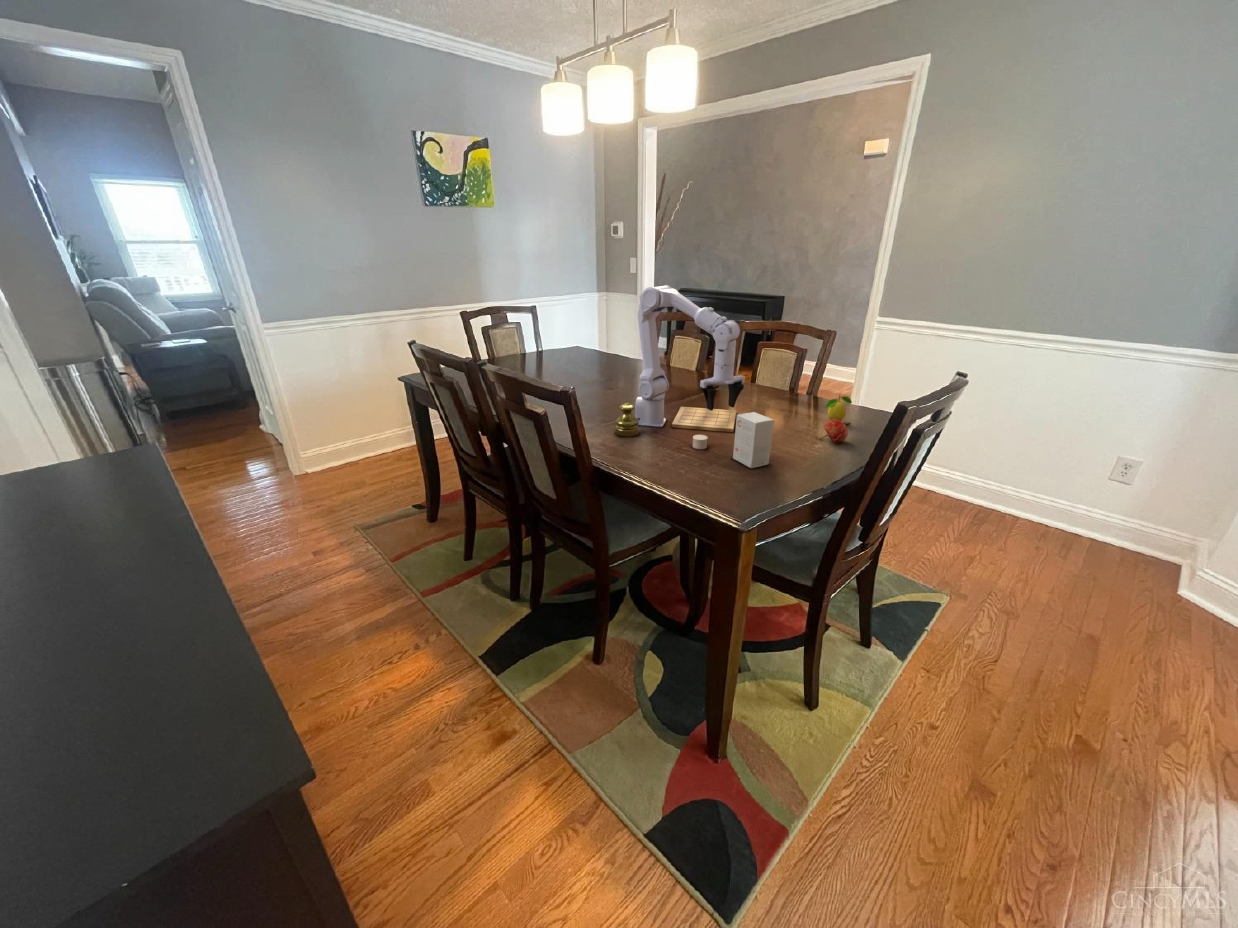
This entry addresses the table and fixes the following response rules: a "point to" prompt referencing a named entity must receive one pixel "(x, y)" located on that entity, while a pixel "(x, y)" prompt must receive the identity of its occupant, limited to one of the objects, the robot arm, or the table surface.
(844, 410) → the yellow pear
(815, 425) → the table surface
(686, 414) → the board
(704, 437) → the white short cylinder
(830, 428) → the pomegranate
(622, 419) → the gold chess pawn
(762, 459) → the small box
